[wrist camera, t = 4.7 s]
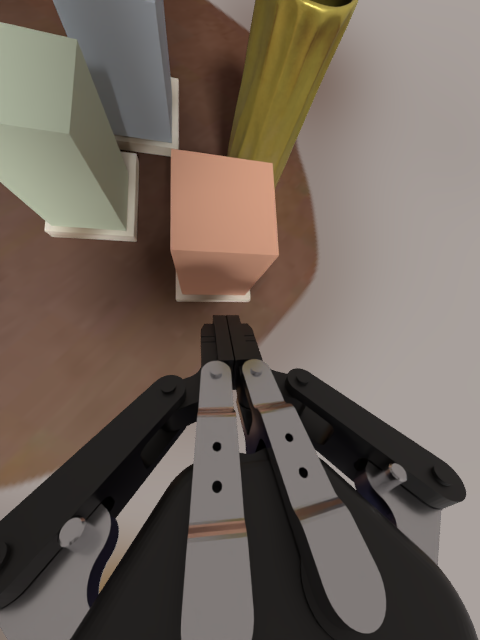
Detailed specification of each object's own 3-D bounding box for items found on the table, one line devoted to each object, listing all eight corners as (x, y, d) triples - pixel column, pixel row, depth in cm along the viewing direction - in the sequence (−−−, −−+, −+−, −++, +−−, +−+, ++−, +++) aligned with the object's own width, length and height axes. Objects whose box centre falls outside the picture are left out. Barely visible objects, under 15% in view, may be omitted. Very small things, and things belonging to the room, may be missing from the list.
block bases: (46, 300, 19) (38, 297, 18) (67, 67, 22) (61, 54, 21) (248, 302, 22) (250, 299, 21) (239, 101, 26) (240, 91, 25)
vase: (245, 152, 25) (305, -99, 11) (283, 189, 25) (389, -11, 11) (209, 182, 23) (228, -64, 9) (250, 221, 24) (327, 37, 10)
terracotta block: (182, 294, 20) (170, 249, 11) (182, 234, 21) (170, 148, 12) (244, 295, 21) (278, 255, 12) (242, 238, 22) (272, 163, 13)
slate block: (107, 133, 21) (41, -28, 12) (110, 81, 21) (50, -105, 13) (172, 143, 22) (155, 3, 13) (172, 93, 23) (156, -69, 14)
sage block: (51, 225, 18) (-82, 112, 10) (56, 164, 19) (-61, 8, 10) (126, 230, 20) (69, 133, 11) (128, 172, 20) (77, 39, 12)
